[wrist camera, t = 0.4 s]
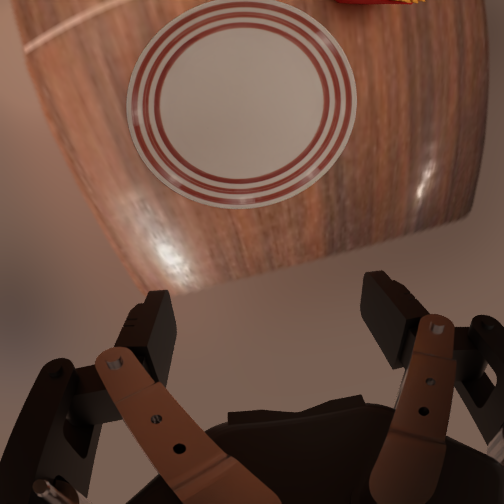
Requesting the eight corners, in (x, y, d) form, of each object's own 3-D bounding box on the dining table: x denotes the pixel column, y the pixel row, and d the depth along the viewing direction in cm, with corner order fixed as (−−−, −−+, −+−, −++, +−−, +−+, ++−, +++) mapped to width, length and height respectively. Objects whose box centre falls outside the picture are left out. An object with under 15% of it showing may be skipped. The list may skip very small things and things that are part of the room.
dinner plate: (202, 229, 46) (202, 242, 44) (90, 76, 29) (81, 80, 26) (369, 148, 41) (379, 158, 39) (296, -30, 24) (304, -35, 21)
